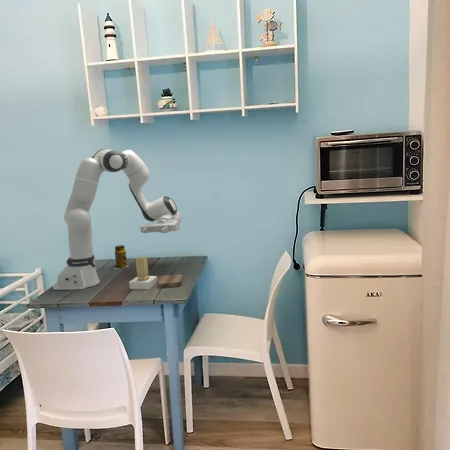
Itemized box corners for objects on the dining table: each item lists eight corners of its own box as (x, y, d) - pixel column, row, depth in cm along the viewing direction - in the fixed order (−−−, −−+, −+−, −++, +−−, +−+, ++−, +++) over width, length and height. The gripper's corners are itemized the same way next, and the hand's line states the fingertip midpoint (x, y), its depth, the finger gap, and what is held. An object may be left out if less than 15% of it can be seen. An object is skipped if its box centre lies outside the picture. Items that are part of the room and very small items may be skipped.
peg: (138, 287, 225) (135, 258, 223) (141, 284, 229) (139, 256, 227) (146, 287, 224) (143, 258, 222) (149, 284, 228) (146, 256, 226)
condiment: (129, 266, 266) (127, 245, 264) (115, 269, 261) (113, 248, 259) (124, 264, 272) (122, 244, 270) (110, 267, 267) (108, 246, 265)
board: (157, 288, 222) (157, 284, 221) (160, 279, 236) (160, 275, 235) (180, 286, 222) (180, 282, 222) (182, 277, 236) (181, 274, 235)
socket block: (129, 289, 223) (129, 281, 223) (139, 282, 233) (138, 275, 232) (149, 289, 220) (148, 282, 220) (157, 282, 230) (157, 276, 229)
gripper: (146, 219, 252) (133, 226, 239) (180, 217, 246) (170, 224, 233) (148, 231, 254) (135, 238, 241) (182, 229, 247) (172, 236, 234)
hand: (153, 231), depth 237 cm, fingers open, 8 cm apart
